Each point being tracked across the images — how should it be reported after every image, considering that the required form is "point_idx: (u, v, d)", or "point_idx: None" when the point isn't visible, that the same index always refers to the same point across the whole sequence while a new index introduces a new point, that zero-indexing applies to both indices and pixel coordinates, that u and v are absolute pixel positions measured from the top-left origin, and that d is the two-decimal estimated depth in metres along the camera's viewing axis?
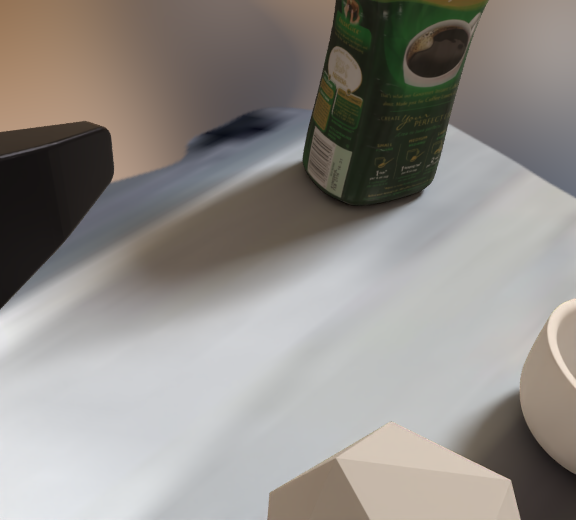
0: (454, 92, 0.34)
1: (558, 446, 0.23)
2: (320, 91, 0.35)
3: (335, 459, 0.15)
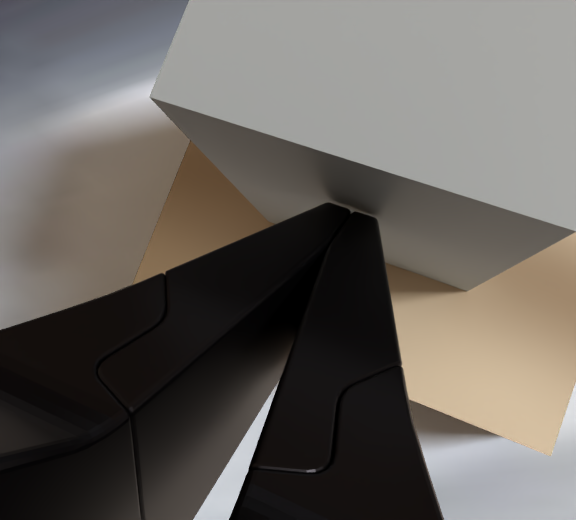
0: None
1: None
2: None
3: None
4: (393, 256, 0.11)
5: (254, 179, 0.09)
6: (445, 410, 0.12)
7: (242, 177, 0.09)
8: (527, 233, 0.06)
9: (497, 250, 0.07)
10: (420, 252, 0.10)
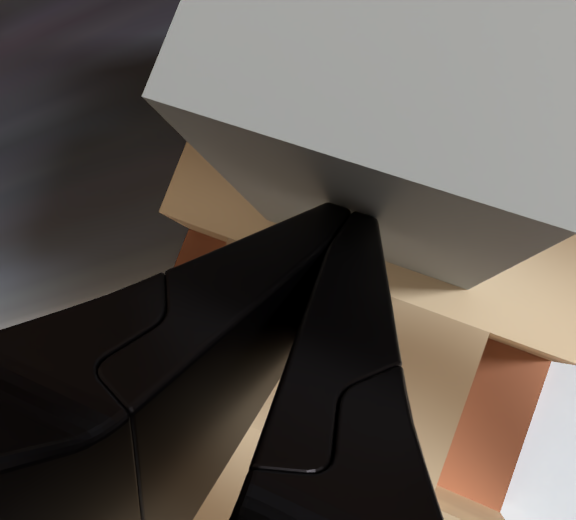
0: None
1: None
2: None
3: None
4: (392, 255, 0.11)
5: (250, 178, 0.09)
6: None
7: (238, 176, 0.09)
8: (527, 234, 0.06)
9: (497, 250, 0.07)
10: (419, 251, 0.10)
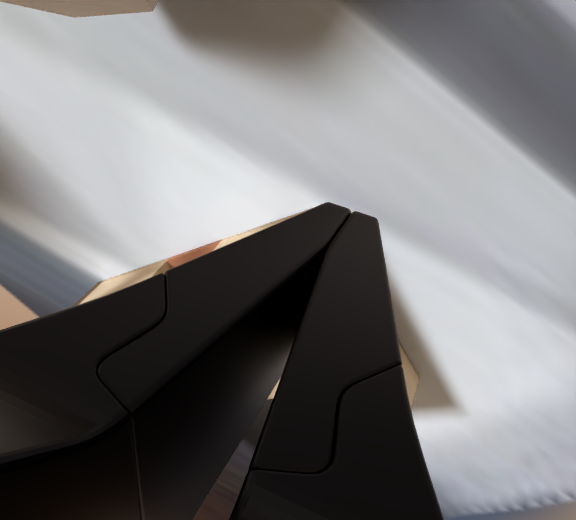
0: None
1: None
2: None
3: None
4: None
5: None
6: None
7: None
8: None
9: None
10: None
